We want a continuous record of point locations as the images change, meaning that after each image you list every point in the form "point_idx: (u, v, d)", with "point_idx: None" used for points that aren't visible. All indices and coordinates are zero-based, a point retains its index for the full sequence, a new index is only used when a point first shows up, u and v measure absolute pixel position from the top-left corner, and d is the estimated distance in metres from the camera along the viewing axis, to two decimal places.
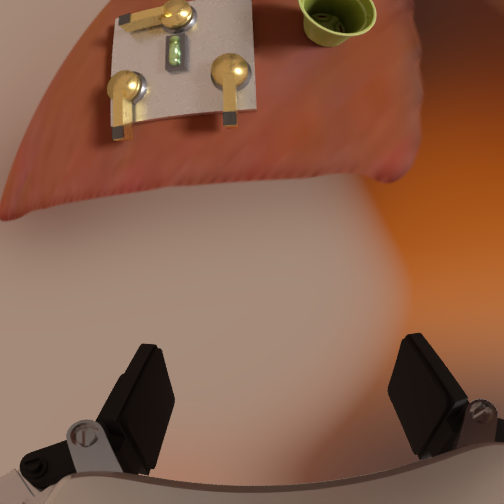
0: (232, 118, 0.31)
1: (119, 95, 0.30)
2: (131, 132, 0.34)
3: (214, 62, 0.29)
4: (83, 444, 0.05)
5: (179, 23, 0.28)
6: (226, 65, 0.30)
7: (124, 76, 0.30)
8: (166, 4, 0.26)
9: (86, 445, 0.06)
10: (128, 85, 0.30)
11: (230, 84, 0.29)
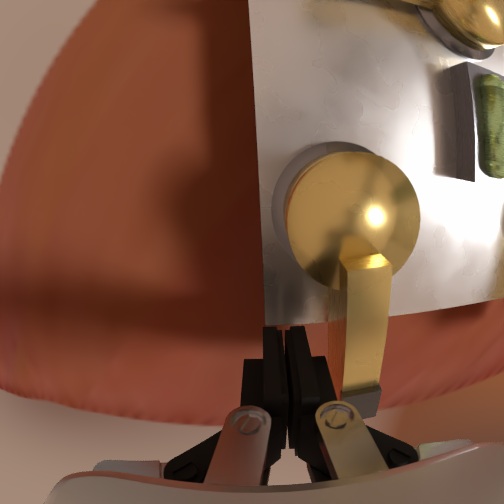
0: None
1: (376, 289, 0.08)
2: None
3: None
4: (240, 429, 0.07)
5: (500, 43, 0.06)
6: None
7: (371, 184, 0.08)
8: None
9: (243, 431, 0.07)
10: (390, 230, 0.08)
11: None
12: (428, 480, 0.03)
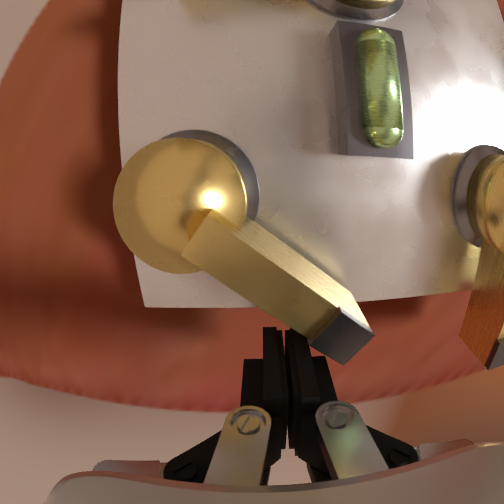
0: None
1: (217, 244, 0.08)
2: (336, 283, 0.11)
3: (502, 181, 0.08)
4: (240, 429, 0.07)
5: None
6: None
7: (151, 175, 0.09)
8: None
9: (243, 431, 0.07)
10: (199, 185, 0.09)
11: None
12: (428, 480, 0.03)
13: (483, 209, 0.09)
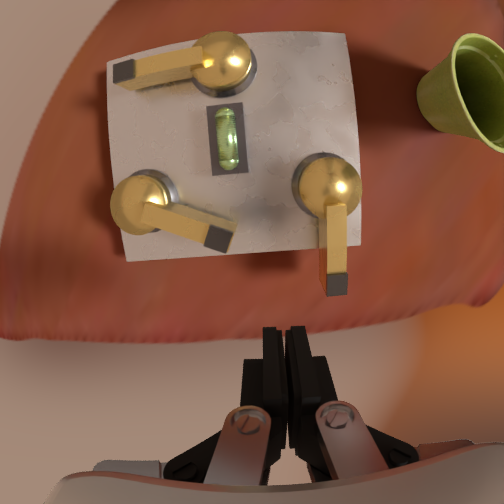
0: (341, 286, 0.20)
1: (152, 213, 0.19)
2: (224, 220, 0.22)
3: (307, 175, 0.19)
4: (240, 429, 0.07)
5: (231, 83, 0.18)
6: (328, 182, 0.19)
7: (123, 195, 0.20)
8: (202, 40, 0.16)
9: (243, 431, 0.07)
10: (142, 193, 0.20)
11: (339, 226, 0.19)
12: (428, 480, 0.03)
13: (300, 193, 0.20)
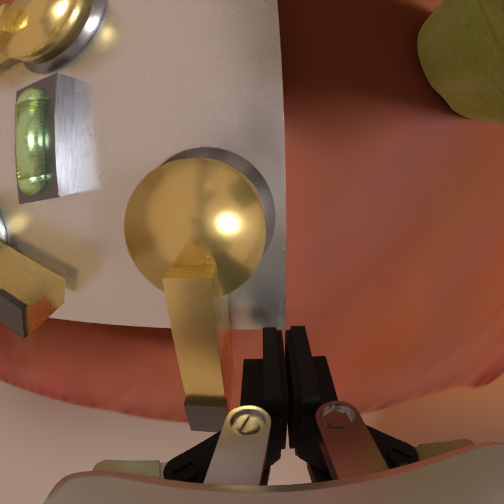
0: (216, 421, 0.09)
1: None
2: (46, 273, 0.11)
3: (134, 202, 0.08)
4: (240, 429, 0.07)
5: (40, 45, 0.07)
6: (179, 218, 0.08)
7: None
8: None
9: (243, 431, 0.07)
10: None
11: (198, 322, 0.08)
12: (428, 480, 0.03)
13: None
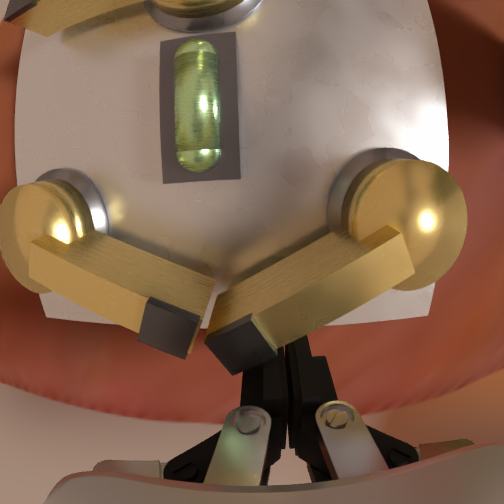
0: (244, 357, 0.08)
1: (42, 262, 0.08)
2: (190, 273, 0.11)
3: (423, 165, 0.08)
4: (240, 429, 0.07)
5: None
6: (426, 214, 0.08)
7: (10, 221, 0.09)
8: None
9: (243, 431, 0.07)
10: (34, 218, 0.09)
11: (371, 283, 0.08)
12: (428, 480, 0.03)
13: (378, 169, 0.08)
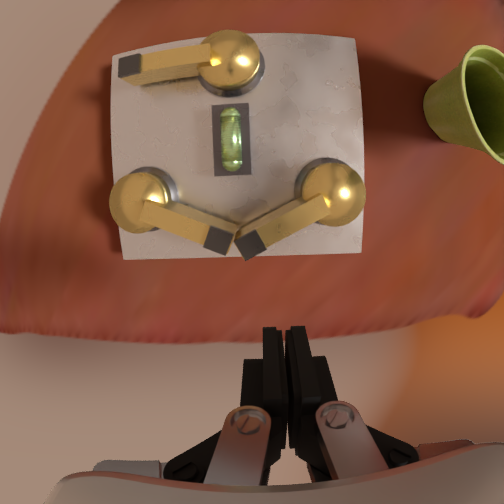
0: (251, 250, 0.19)
1: (151, 211, 0.19)
2: (225, 221, 0.22)
3: (337, 165, 0.19)
4: (240, 429, 0.07)
5: (238, 82, 0.17)
6: (339, 188, 0.19)
7: (122, 192, 0.19)
8: (211, 38, 0.16)
9: (242, 431, 0.07)
10: (142, 191, 0.19)
11: (309, 216, 0.19)
12: (428, 480, 0.03)
13: (316, 168, 0.19)
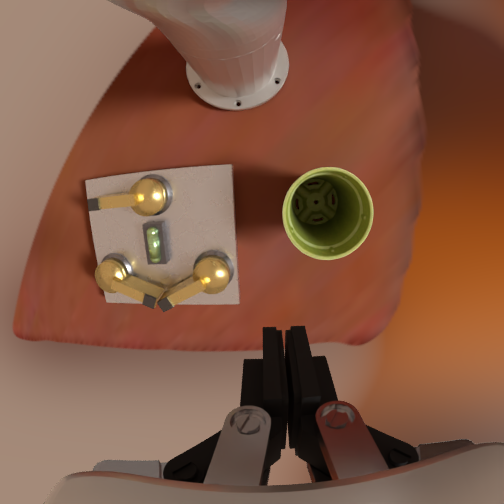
0: (165, 307, 0.35)
1: (116, 285, 0.35)
2: (156, 287, 0.37)
3: (210, 261, 0.34)
4: (240, 429, 0.07)
5: (153, 213, 0.33)
6: (212, 274, 0.35)
7: (101, 272, 0.35)
8: (135, 185, 0.32)
9: (243, 431, 0.07)
10: (111, 272, 0.35)
11: (193, 291, 0.34)
12: (428, 480, 0.03)
13: (199, 261, 0.35)
